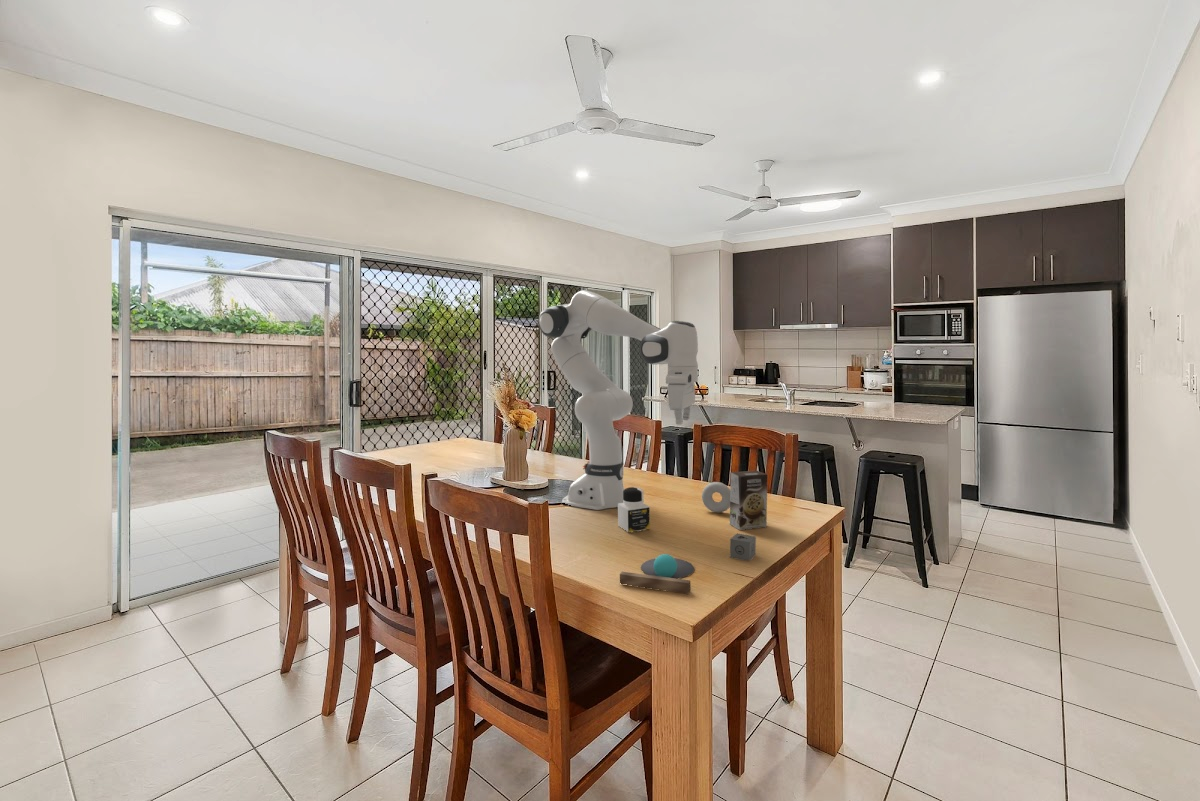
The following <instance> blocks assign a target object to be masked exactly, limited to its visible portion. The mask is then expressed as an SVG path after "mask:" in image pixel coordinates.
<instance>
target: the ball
mask: <svg viewBox="0 0 1200 801" xmlns="http://www.w3.org/2000/svg"><path fill="white" fill-rule="evenodd" d="M655 558H656V559H655ZM655 558H654V559H655V561H654V571H655V573H656V574H657V575H658V576H660V577H668V578H670V577H672V576H673V575H674V574H675V573H676V570H677V563H676V561H675V559H674V558H675V557H673V556H672V555H671V554H667V553H663V554H660V555H658V556H656V557H655Z"/></svg>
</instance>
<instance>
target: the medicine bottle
mask: <svg viewBox="0 0 1200 801" xmlns="http://www.w3.org/2000/svg"><path fill="white" fill-rule="evenodd" d="M623 502H624V503H619V504H618V507H617V525H618V527H619V526H620V527H621V528H620V527H619V528H620V529H622V528H623V529H624V531H625V530H626V531H625V532H626V533H628V532H631V533H634V532H633V531H637V532H641V531H640V530H643V531H647V530H646V529H649V530H650V506H649V505H647V504H646V503H644V490H643V488H640V487H636V486H634V487H633V486H632V487H626V488H624V490H623ZM623 529H622V530H623Z"/></svg>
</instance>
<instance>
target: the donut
mask: <svg viewBox="0 0 1200 801" xmlns="http://www.w3.org/2000/svg"><path fill="white" fill-rule="evenodd" d="M715 493H718V494H720V496H721V500H720V501H715V499H713V494H715ZM701 500H702V503H703V506H704V507H705V508H706V509H708V510H709V511H710V512H713V513H716V514H719V513H724V512H726V511H727V510H730V487H728V485H727V484H724V483H723V482H719V481H713V482H709V483H708V484H706V485H705V486H704V488H703V490H702V491H701Z"/></svg>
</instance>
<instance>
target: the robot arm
mask: <svg viewBox="0 0 1200 801" xmlns="http://www.w3.org/2000/svg"><path fill="white" fill-rule="evenodd" d="M538 327H539V330H540V332H541V333H542V334H543V336H545V337H547V338H553V339H554V340H552V341H551V342H552V343H551V345H550V350H551V353H552V356H553V357H554V360H555V363H556V364H557V366H558V368H559V369H560V371H561V372H562V374H563V376H564V377H565V379H566V380H567V381H568V383H569V385H571V388H572V389H574V390H575V391H576V392H578V393H580V394H582V395H581V396H580V397H578V399H577V400H576V401H575V404H574V414H575V417H576V419H577V420H578V421H579V422H580V424H582V426H583V427H584V430H585V432H586V435H587V440H588V449H589V450H588V451H589V452H588V453H589V454H588V455H589V461H587V463H585V464H584V465H582V467H583V468H582V470H584V473H583V474H581V475H580V476H579V477H578V478H576V479H575V480H574V481H573V482H571V484H570V486H569V489H568V494H567V495H566V496H565V497H563V498H562V500H561V504H562V503H565V504H568V505H567V506H569V505H571V506H572V507H576V508H583V509H590V510H594V511H599V510H606V509H612V508H618V504H619V503H624V502H623V490H624V489H625V487H624V462H623V458H622V451H623V450H622V439H621V437H620V436H619V435H618V434H617V433H616V430H615V427H614V421H620V420H621V419H623V418H625V417H627V416H628V415H629V414H630V413H631V411H632V410H633V406H634V402H633V398H632V396H631V395H630V393H629V392H628V391H626V390H624V389H621V388H620V387H619V386H618V385H616V384H615V383H614V382H613V381H612V380H611V379H610V378H608V377H607V376H606V375H605V374H604V373H603V372H602V371H601V369H600V368H599V367H598V366H597V364H596V363H595V362H594V360H593V359H592V358H591V356H590V355H589V353H588V352H587V351H586V349H585V348H584V346H583V344H582V342H581V340H582V339H583V340H584V339H585V338H587V337H588V336H589V333H590V332H591V330H593V331H595V332H597V333H600V334H602V335H604V336H609V337H610V336H611V337H615V336H616V337H627V338H633V339H636V340H638V341H640V343H639V350H638V351H639V355H640V357H641V359H642V360H643V361H644V362H645V363H646V364H650V365H667V374H666V376H665V384H666V385H667V399H668V402H667V403H668V409H669V410H670V411H674V418H675V424H676V425H682V424H683V423H684V421H689V420H690V417H691V416H690V415H691V414H690V413H691V409H692V408H691V407H692V405H694V404H695V402H696V386H695V383H697V382H698V381H699V377H698V376H699V374H698V372H699V371H698V370H699V368H698V367H699V364H698V361H697V355H698V351H699V347H698V346H699V344H698V343H699V342H698V332H697V328H696V326H695V324H693V323H691V322H688V321H682V320H681V321H679V320H673V321H670V322H669V323H668V324H667V325H665V327H663V328H659V327H657V326H655V325H653V324H651V323H650V322H648V321H646V320H643V319H642V318H640V317H638V316H636V315H634V314H633V313H631V312H630V311H627V310H626V309H624V308H623V307H622V306H620V305H618V304H616V303H615V302H613V301H612V300H611V299H609V298H607V297H605V296H602V295H600V294H599V293H597V292H594V291H590V290H586V289H585V290H584V289H583V290H579V291H577V292H576V293H575V294H574V295H573V296H572V298H571V300H570V303H565V304H558V305H552V306H549V307H546V308H545V309H543V310H542V311H541V312H540V314H539V316H538ZM571 506H570V507H571Z"/></svg>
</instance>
